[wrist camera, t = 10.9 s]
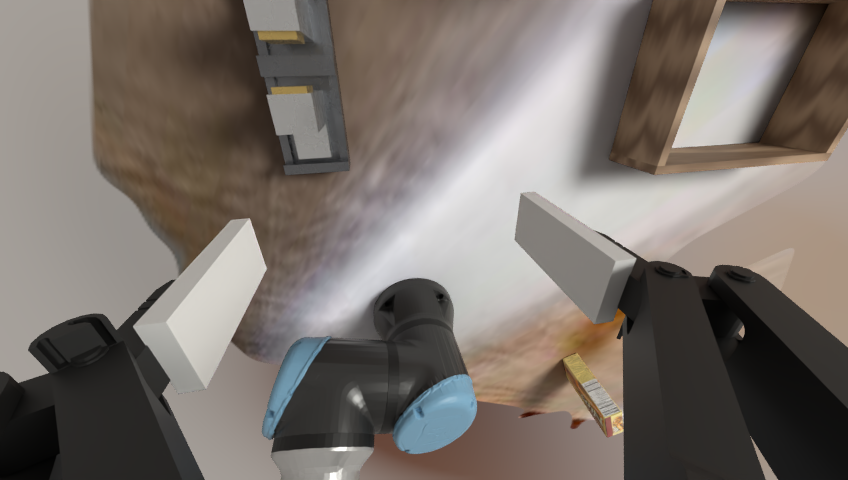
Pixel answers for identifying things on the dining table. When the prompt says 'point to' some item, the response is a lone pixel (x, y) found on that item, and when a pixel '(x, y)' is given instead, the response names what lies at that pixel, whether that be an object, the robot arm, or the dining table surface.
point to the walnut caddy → (676, 76)
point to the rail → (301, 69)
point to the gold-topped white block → (301, 119)
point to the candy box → (594, 395)
